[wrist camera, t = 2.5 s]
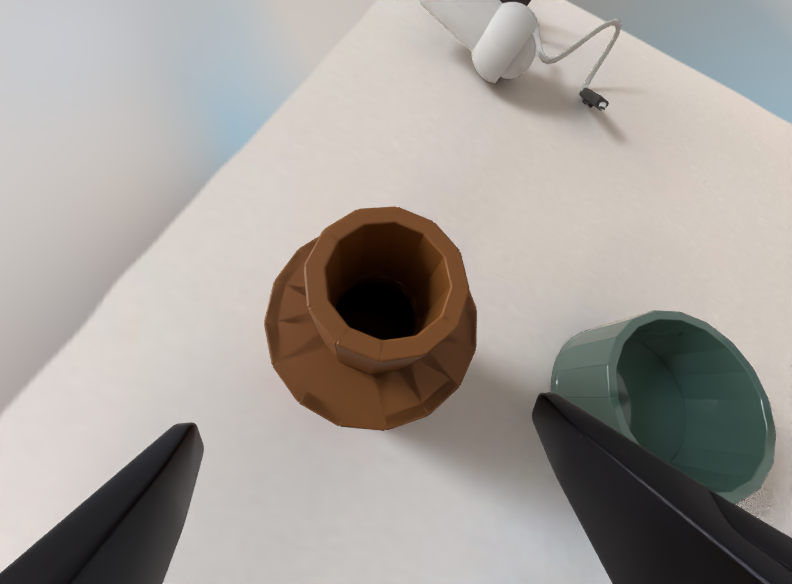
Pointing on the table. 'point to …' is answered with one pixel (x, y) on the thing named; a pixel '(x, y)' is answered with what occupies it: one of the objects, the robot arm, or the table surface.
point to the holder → (675, 396)
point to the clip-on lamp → (507, 38)
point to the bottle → (373, 320)
